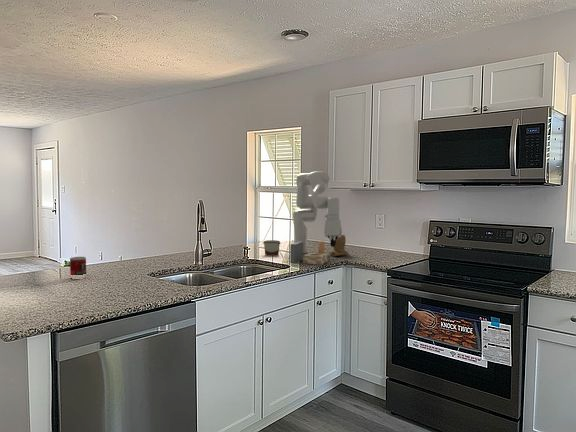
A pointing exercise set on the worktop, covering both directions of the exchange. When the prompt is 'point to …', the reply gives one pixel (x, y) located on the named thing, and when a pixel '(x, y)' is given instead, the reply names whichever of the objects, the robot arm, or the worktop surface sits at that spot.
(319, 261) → the beige square ring
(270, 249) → the food container
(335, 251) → the brown chunky piece
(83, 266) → the canned food
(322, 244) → the dowel
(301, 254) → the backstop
